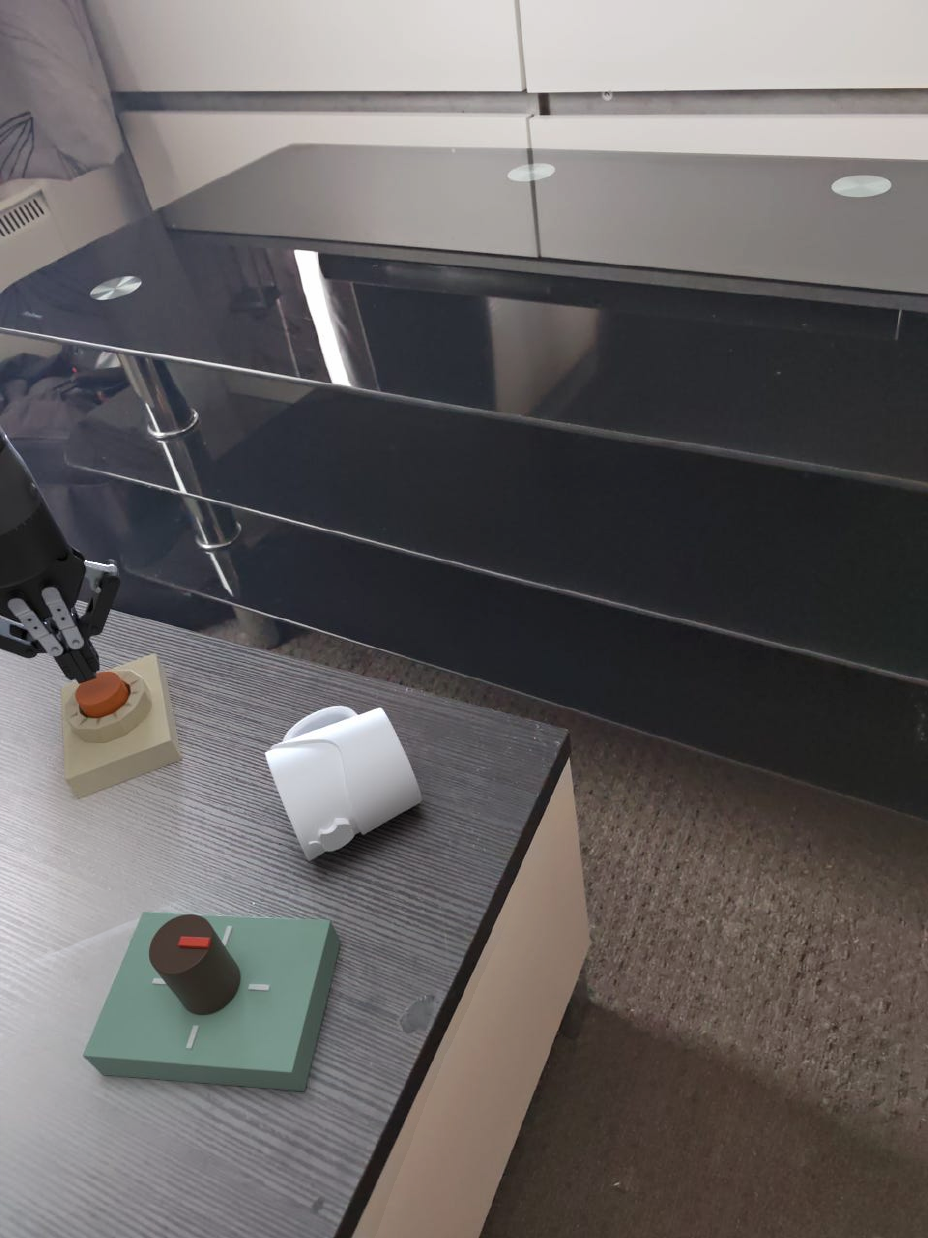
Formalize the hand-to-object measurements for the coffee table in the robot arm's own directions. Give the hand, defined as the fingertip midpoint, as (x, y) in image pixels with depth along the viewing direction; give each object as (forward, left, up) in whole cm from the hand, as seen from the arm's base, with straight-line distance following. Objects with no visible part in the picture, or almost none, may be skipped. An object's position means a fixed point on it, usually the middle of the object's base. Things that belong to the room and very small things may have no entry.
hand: (87, 674), depth 78 cm
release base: (0, 0, -8) cm, 8 cm away
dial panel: (+18, -24, -8) cm, 31 cm away
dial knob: (+18, -24, -5) cm, 30 cm away
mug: (+23, -7, -8) cm, 25 cm away
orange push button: (0, 0, -3) cm, 4 cm away
